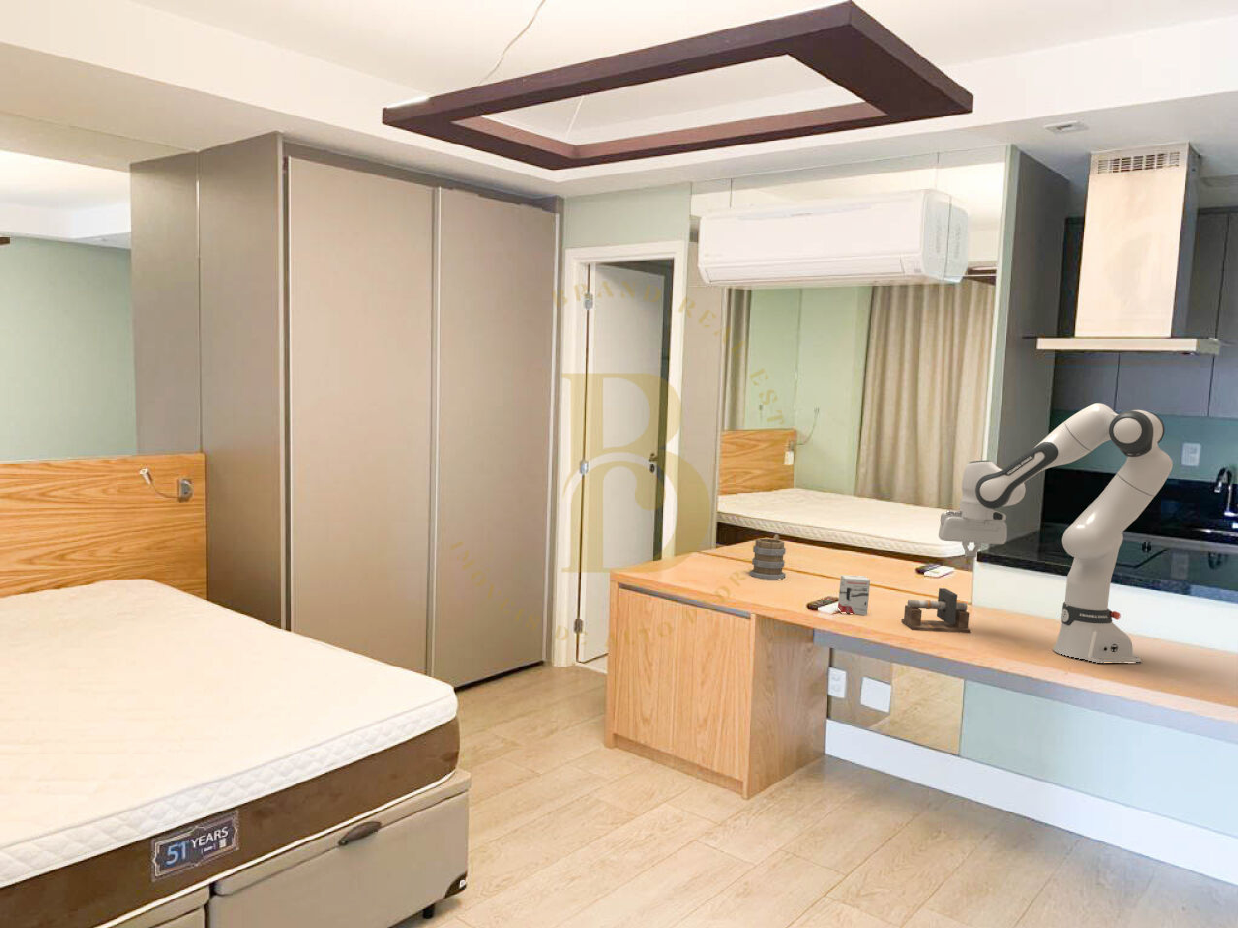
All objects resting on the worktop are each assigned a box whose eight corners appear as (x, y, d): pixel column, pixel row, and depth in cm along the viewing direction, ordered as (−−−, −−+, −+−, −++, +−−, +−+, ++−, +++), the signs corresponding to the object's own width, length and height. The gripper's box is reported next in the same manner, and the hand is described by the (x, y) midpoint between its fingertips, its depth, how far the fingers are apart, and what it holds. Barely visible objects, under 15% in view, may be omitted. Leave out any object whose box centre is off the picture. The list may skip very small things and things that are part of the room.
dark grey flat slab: (943, 616, 291) (945, 588, 290) (954, 623, 282) (957, 594, 281) (936, 616, 291) (939, 588, 290) (948, 623, 282) (950, 594, 281)
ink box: (841, 614, 296) (844, 577, 295) (837, 610, 301) (840, 574, 300) (867, 615, 297) (870, 579, 296) (862, 611, 302) (865, 576, 301)
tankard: (778, 581, 343) (782, 541, 342) (746, 576, 349) (749, 537, 347) (792, 573, 361) (795, 535, 360) (761, 569, 367) (764, 531, 366)
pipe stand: (957, 624, 292) (959, 598, 291) (970, 632, 282) (973, 606, 281) (901, 621, 291) (903, 595, 290) (912, 630, 281) (915, 603, 280)
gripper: (945, 511, 280) (941, 556, 281) (1011, 515, 281) (1006, 560, 282) (937, 509, 286) (933, 552, 288) (1001, 512, 287) (997, 556, 289)
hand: (970, 556), depth 285 cm, fingers closed
